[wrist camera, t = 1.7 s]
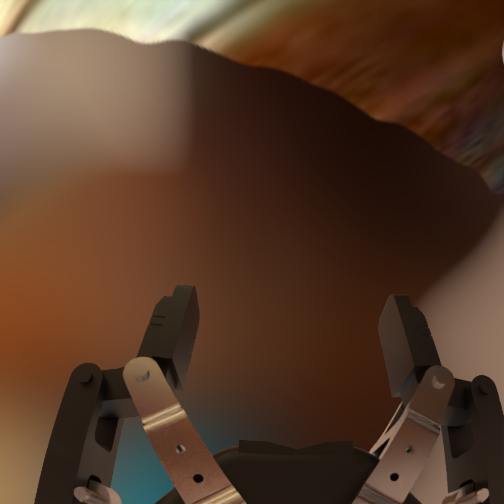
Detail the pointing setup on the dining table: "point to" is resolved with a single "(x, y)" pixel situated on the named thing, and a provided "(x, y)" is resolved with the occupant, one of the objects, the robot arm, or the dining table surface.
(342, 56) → the dining table surface
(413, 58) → the dining table surface
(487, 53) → the dining table surface
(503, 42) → the octagonal white mug
